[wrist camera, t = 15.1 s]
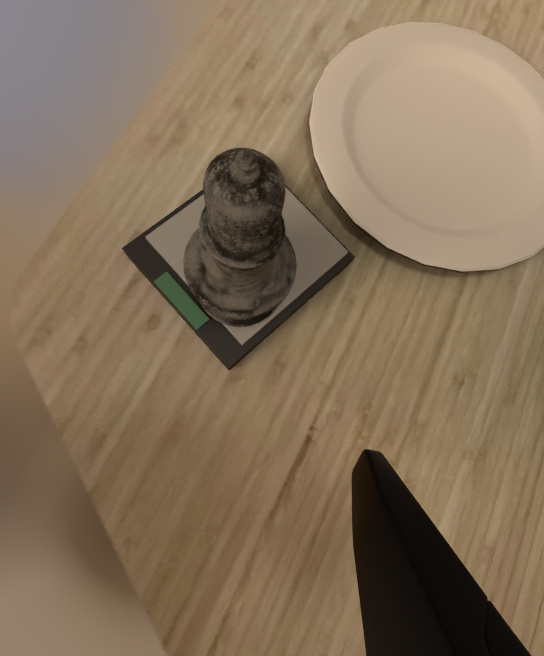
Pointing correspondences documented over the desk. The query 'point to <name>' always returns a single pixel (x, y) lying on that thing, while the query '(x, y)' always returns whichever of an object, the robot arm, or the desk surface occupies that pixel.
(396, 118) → the plate
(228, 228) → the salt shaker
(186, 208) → the scale
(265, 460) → the desk surface
